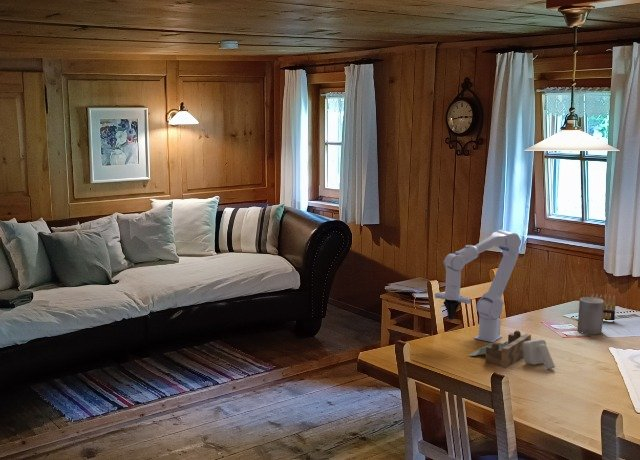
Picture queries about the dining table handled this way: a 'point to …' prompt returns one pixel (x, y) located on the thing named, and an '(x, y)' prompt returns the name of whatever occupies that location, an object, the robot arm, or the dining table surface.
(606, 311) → the ammunition clip
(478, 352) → the metal bracket
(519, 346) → the brown crenellated block
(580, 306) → the pillar candle
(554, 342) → the dining table surface
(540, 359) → the grey chunky block
